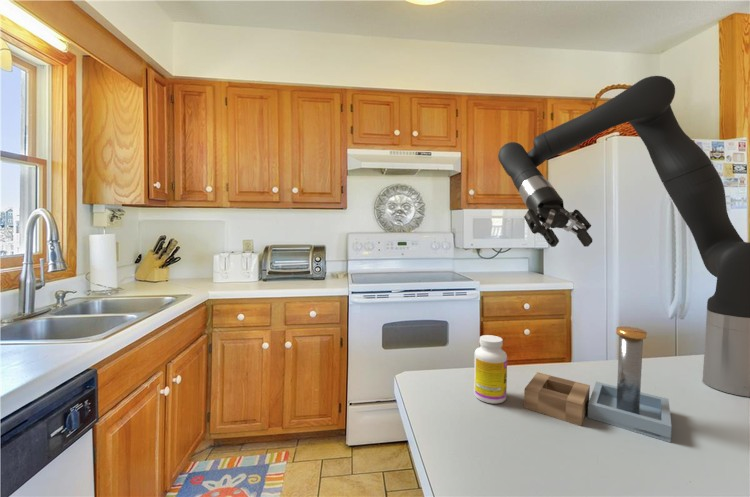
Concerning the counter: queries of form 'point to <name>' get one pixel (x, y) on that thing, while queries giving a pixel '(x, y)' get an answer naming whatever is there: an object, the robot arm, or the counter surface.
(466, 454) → the counter surface
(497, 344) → the supplement bottle
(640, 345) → the pin
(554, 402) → the socket block
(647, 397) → the tray
